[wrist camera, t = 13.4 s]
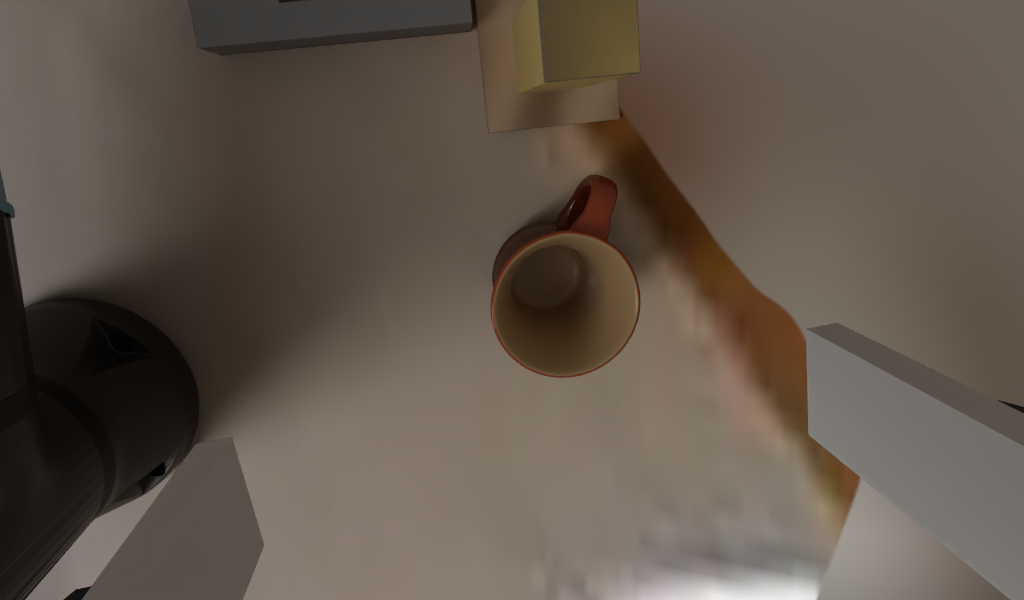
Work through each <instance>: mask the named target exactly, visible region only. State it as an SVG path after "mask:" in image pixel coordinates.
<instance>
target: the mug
mask: <svg viewBox="0 0 1024 600" xmlns="http://www.w3.org/2000/svg"><path fill="white" fill-rule="evenodd" d="M617 193H618V191H617V186H616V184H615V183H614V182H613V181H612V180H610V179H608V178H606V177H603V176H600V175H589V176H587V177H586V178H585V179H583V180H582V182H581V183H580V184H579V185H578V187H577V188H576V190H575V192H574V193H573V195H572V197H571V199H570V200H569V202H568V203H567V204H566V206H565V207H564V208H563V210H562V211H561V212H560V214H559V215H558V217H557V219H556V221H555V222H554V223H553V222H539V223H535V224H531V225H528V226H526V227H524V228H522V229H520V230H518V231H517V232H515V233H514V234H513V235H511V236H510V237H509V238H508V239H507V240H506V242H505V243H504V244H503V245H502V247H501V249H500V250H499V252H498V254H497V257H496V260H495V263H494V267H493V274H492V281H493V292H492V298H491V318H492V323H493V327H494V330H495V333H496V336H497V338H498V340H499V342H500V343H501V345H502V347H503V348H504V349H505V351H506V352H507V353H508V354H509V355H510V356H511V357H512V358H513V359H514V360H515V361H516V362H517V363H519V364H520V365H521V366H523V367H525V368H526V369H528V370H530V371H532V372H535V373H538V374H541V375H544V376H549V377H559V378H566V377H575V376H580V375H584V374H587V373H590V372H592V371H595V370H597V369H599V368H600V367H602V366H604V365H605V364H607V363H608V362H610V361H611V360H612V359H613V358H615V357H616V356H617V355H618V354H619V353H620V352H621V350H622V349H623V348H624V347H625V345H626V344H627V343H628V341H629V339H630V338H631V336H632V334H633V332H634V330H635V327H636V324H637V321H638V317H639V312H640V290H639V285H638V281H637V278H636V276H635V273H634V271H633V269H632V267H631V265H630V264H629V262H628V260H627V259H626V257H625V256H624V255H623V253H622V252H621V251H620V250H619V249H618V248H616V247H615V246H614V245H612V244H611V243H609V242H607V238H608V235H609V227H610V220H611V216H612V213H613V210H614V207H615V204H616V200H617Z"/></svg>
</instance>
